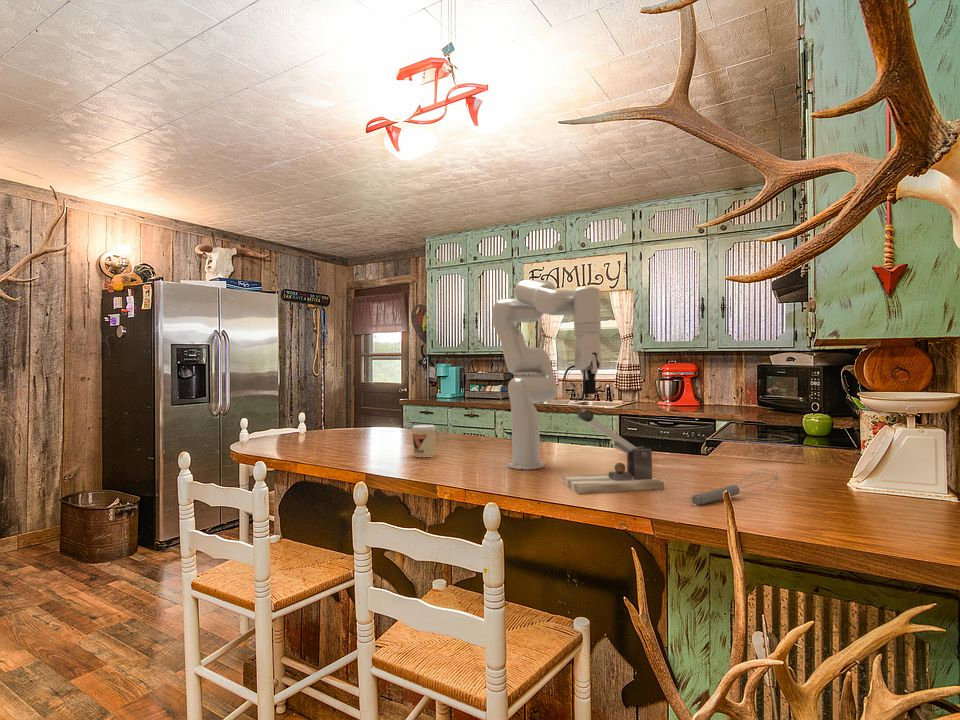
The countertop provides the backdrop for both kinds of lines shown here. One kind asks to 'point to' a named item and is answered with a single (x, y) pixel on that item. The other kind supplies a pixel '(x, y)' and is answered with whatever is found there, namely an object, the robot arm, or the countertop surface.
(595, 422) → the nutcracker lever
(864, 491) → the countertop surface
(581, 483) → the nutcracker base
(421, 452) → the coffee cup
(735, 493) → the kitchen whisk
